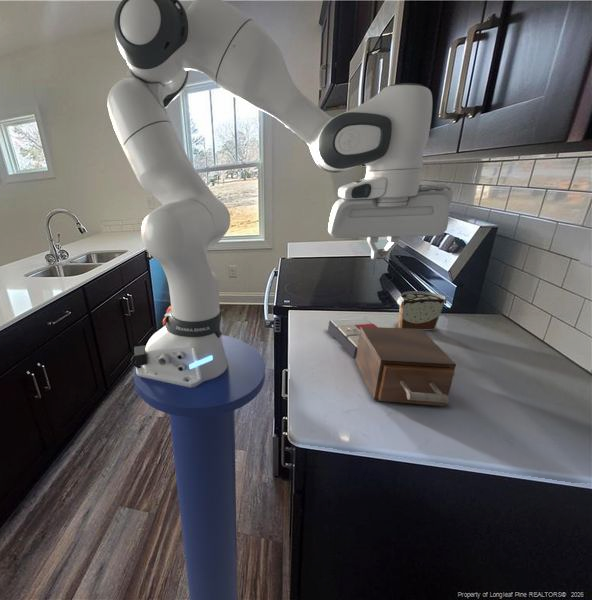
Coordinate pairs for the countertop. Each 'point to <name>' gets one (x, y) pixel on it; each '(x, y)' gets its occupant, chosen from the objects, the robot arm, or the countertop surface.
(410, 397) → the drawer
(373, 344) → the cabinet
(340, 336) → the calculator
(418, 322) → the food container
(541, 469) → the countertop surface
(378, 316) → the countertop surface
